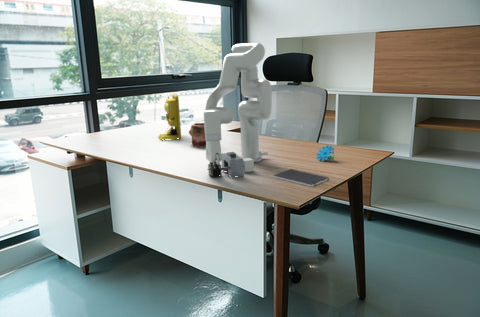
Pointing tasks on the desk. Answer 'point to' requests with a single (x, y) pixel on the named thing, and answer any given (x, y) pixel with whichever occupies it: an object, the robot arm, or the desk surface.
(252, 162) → the plug
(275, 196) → the desk surface
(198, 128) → the decorative planter
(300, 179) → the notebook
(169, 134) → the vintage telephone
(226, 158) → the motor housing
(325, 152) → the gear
